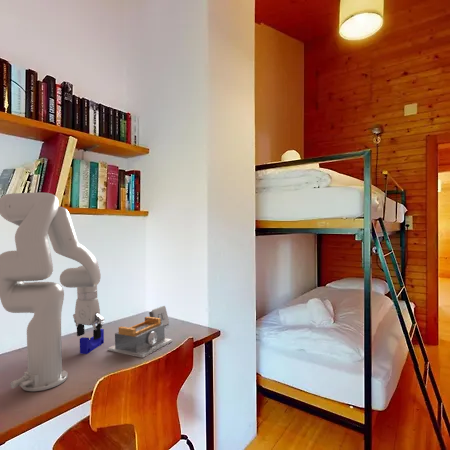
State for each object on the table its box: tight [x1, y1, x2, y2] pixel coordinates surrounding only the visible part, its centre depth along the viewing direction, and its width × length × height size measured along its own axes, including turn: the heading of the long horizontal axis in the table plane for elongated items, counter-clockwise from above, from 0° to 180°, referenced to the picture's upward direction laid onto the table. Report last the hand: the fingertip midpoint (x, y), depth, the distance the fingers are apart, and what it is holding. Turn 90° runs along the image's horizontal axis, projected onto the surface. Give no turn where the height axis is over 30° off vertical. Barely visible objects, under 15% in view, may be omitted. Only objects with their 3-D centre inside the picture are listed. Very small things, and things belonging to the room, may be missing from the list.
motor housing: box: [107, 316, 173, 359], centre depth 128 cm, size 18×18×10 cm
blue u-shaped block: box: [79, 328, 105, 355], centre depth 128 cm, size 12×4×6 cm, turn 170°
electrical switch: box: [148, 305, 170, 327], centre depth 155 cm, size 9×5×9 cm, turn 152°
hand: (88, 336), depth 129 cm, fingers open, 9 cm apart
